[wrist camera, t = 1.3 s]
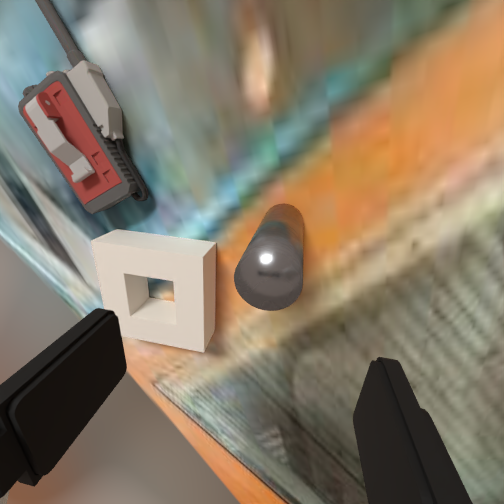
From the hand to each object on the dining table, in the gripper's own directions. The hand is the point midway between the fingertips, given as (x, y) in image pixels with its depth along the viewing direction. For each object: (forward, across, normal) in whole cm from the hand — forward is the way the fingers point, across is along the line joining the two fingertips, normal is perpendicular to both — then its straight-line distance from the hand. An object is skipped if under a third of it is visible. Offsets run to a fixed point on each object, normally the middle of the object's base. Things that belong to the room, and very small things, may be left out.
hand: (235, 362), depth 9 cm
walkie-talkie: (+19, +20, -9) cm, 29 cm away
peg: (+18, -1, 0) cm, 18 cm away
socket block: (+18, +12, +9) cm, 24 cm away
